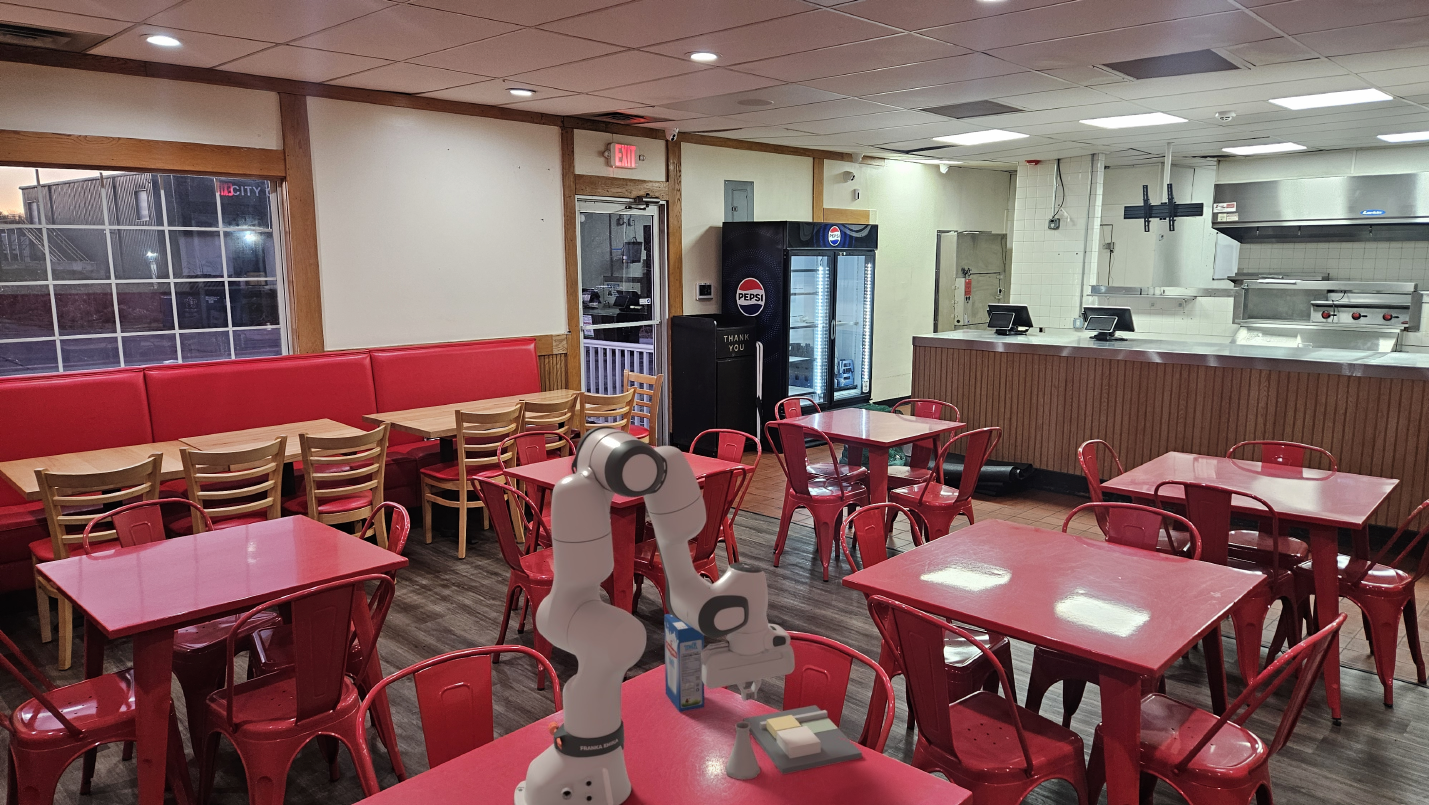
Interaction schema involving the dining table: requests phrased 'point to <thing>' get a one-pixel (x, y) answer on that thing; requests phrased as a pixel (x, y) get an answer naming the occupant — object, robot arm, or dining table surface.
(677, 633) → the milk carton
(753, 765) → the flask
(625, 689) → the dining table surface
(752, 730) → the ticket board
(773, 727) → the stub
